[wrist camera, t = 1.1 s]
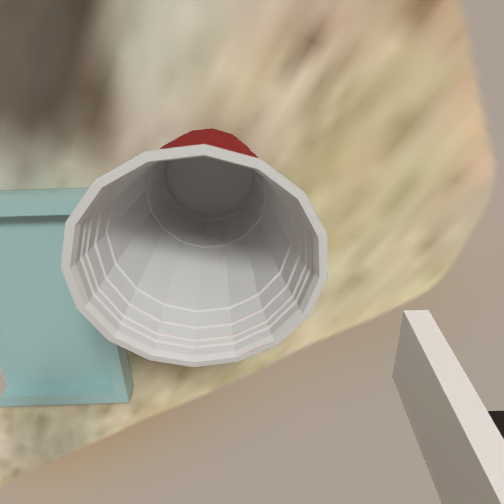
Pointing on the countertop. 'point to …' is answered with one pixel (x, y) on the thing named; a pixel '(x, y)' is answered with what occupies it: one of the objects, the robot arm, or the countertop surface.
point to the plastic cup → (195, 253)
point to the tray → (49, 312)
